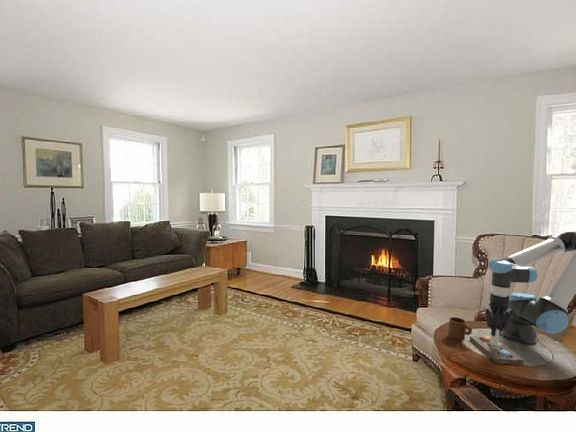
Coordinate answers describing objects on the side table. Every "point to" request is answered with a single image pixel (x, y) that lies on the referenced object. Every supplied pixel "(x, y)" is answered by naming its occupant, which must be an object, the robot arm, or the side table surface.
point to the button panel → (496, 351)
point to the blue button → (504, 353)
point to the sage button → (495, 345)
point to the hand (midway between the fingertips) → (495, 342)
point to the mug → (458, 329)
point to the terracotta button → (486, 339)
